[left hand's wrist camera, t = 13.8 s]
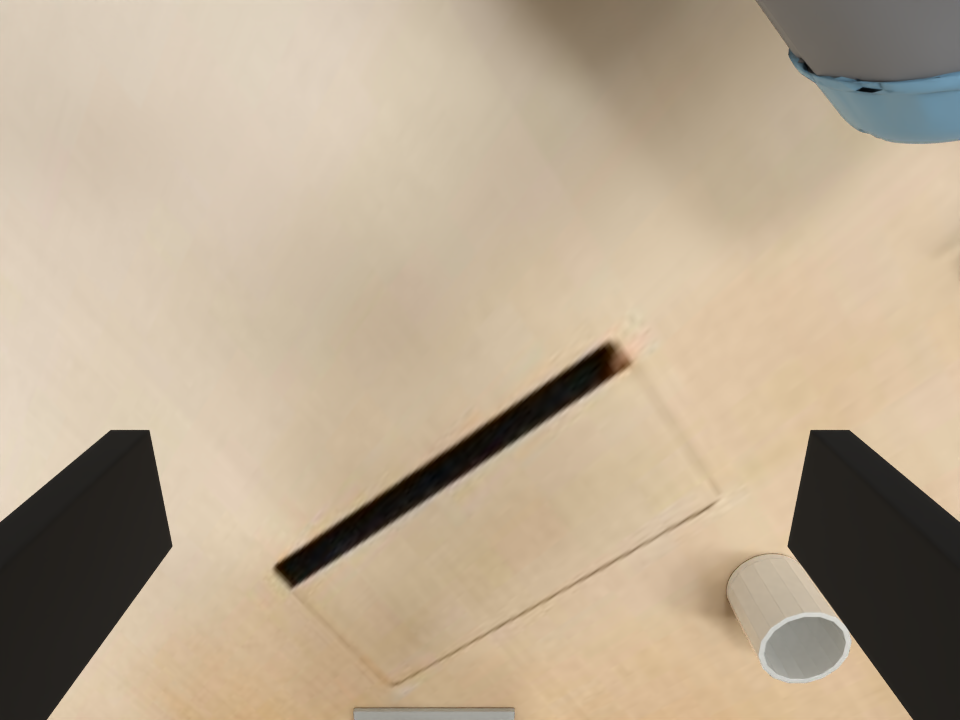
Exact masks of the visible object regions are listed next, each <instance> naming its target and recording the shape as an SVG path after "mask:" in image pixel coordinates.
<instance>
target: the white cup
mask: <svg viewBox="0 0 960 720" xmlns="http://www.w3.org/2000/svg"><path fill="white" fill-rule="evenodd" d="M727 598H728V601H729V603H730V605H731V607H732V610H733V612H734V614H735V616H736V618H737V620H738V622H739V624H740V626H741V628H742V630H743V631H744V633H745V635H746V637H747V639H748V641H749V643H750V645H751V647H752V649H753V651H754V653H755V655H756V657H757V659H758V660H759V662H760V664H761V666H762V668H763V669H764V670H765V671H766V672H767V673H768V674H769V675H771V676H772V677H773V678H775V679H778V680H781V681H784V682H787V683H808V682H811V681H814V680H818V679H821V678H824V677H825V676H827V675H828V674H830V673H832V672H833V671H835V670H836V669H838V668H839V666H840V665H841V664H842V663H843V661H844V660H845V659H846V658H847V656H848V654H849V650H850V646H851V638H850V634H849V630H848V629H847V628H846V626H845V625H844V624H843V622H842V621H841V619H840V618H839V617H838V615H837V614H836V613H835V611H834V610H833V608H832V607H831V606H830V604H829V603H828V601H827V600H826V599H825V597H824V596H823V595H822V593H821V592H820V590H819V589H818V588H817V586H816V585H815V584H814V582H813V581H812V579H811V578H810V577H809V575H808V574H807V573H806V571H805V570H804V568H803V567H802V566H801V565H800V564H799V563H798V562H797V561H796V560H794V559H793V558H790V557H788V556H785V555H780V554H765V555H760V556H757V557H754V558H751V559H749V560H747V561H746V562H744V563H743V564H741V565H740V566H739V567H738V568H737V569H736V570H735V571H734V572H733V574H732V575H731V577H730V579H729V581H728V585H727Z"/></svg>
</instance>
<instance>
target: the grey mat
mask: <svg viewBox="0 0 960 720" xmlns="http://www.w3.org/2000/svg"><path fill="white" fill-rule="evenodd" d="M353 713H354V720H514V713H515V711H514V708H354V711H353Z"/></svg>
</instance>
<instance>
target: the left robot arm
mask: <svg viewBox="0 0 960 720" xmlns="http://www.w3.org/2000/svg"><path fill="white" fill-rule="evenodd" d="M756 1H757V3H758V4H759V6H760V7H761V9H762V10H763V11H764V13H765V14H766V16H767V17H768V19H769V20H770V21H771V23H772V24H773V26H774V27H775V29H776V30H777V31H778V33H779V34H780V36H781V37H782V39H783V40H784V41H785V43H786V44H787V46H788V47H789V54H788V55H789V58H790V59H791V61H792V63H793V64H794V66H795V67H796V69H797V70H798V71H799V72H800V73H801V74H802V75H804V76H805V77H807V78H808V79H810V80H811V81H813V82H815V83H816V84H817V86H818V87H819V88H820V89H821V91H822V92H823V93H824V95H825V96H826V97H827V98H828V100H829V101H830V102H831V103H832V105H833V106H834V107H835V109H836V110H837V111H838V112H839V114H840V115H841V116H842V117H843V118H844V119H845V121H846V122H848V123H849V124H850V125H851V126H853V127H854V128H855V129H857V130H858V131H861V132H864V133H868V134H871V135H873V136H875V137H876V138H881V139H883V140H885V141H889V142H895V143H906V144H929V143H942V142H951V141H958V140H960V0H756ZM171 548H172V541H171V536H170V531H169V526H168V521H167V516H166V511H165V506H164V501H163V496H162V491H161V486H160V481H159V476H158V471H157V466H156V461H155V456H154V451H153V446H152V441H151V436H150V431H149V430H110V431H109V432H108V433H107V434H105V435H104V436H103V437H102V438H101V439H99V440H98V441H97V442H96V443H95V444H93V445H92V446H91V447H90V448H89V449H88V450H86V451H85V452H84V453H83V454H82V455H80V456H79V457H78V458H77V459H76V460H74V461H73V462H72V463H71V464H70V465H68V466H67V467H66V468H65V469H64V470H62V471H61V472H60V473H59V474H58V475H56V476H55V477H54V478H53V479H52V480H50V481H49V482H48V483H47V484H46V485H44V486H43V487H42V488H41V489H40V490H38V491H37V492H36V493H35V494H34V495H32V496H31V497H30V498H29V499H28V500H26V501H25V502H24V503H23V504H22V505H20V506H19V507H18V508H17V509H16V510H14V511H13V512H12V513H11V514H10V515H8V516H7V517H6V518H5V519H4V520H2V521H1V522H0V720H47V719H48V717H49V716H50V715H51V713H52V712H53V710H54V709H55V708H56V706H57V705H58V704H59V702H60V701H61V699H62V698H63V697H64V695H65V694H66V693H67V691H68V690H69V688H70V687H71V686H72V684H73V683H74V681H75V680H76V679H77V677H78V676H79V675H80V673H81V672H82V670H83V669H84V668H85V666H86V665H87V664H88V662H89V661H90V659H91V658H92V657H93V655H94V654H95V653H96V651H97V650H98V648H99V647H100V646H101V644H102V643H103V641H104V640H105V639H106V637H107V636H108V635H109V633H110V632H111V630H112V629H113V628H114V626H115V625H116V624H117V622H118V621H119V619H120V618H121V617H122V615H123V614H124V613H125V611H126V610H127V608H128V607H129V606H130V604H131V603H132V601H133V600H134V599H135V597H136V596H137V595H138V593H139V592H140V590H141V589H142V588H143V586H144V585H145V584H146V582H147V581H148V579H149V578H150V577H151V575H152V574H153V573H154V571H155V570H156V568H157V567H158V566H159V564H160V563H161V561H162V560H163V559H164V557H165V556H166V555H167V553H168V552H169V550H170V549H171ZM788 548H789V549H790V550H791V552H792V553H793V555H794V556H795V557H796V559H797V560H798V562H799V563H800V564H801V566H802V567H803V568H804V570H805V571H806V573H807V574H808V575H809V577H810V578H811V579H812V581H813V582H814V584H815V585H816V586H817V588H818V589H819V590H820V592H821V593H822V595H823V596H824V597H825V599H826V600H827V601H828V603H829V604H830V606H831V607H832V608H833V610H834V611H835V613H836V614H837V615H838V617H839V618H840V619H841V621H842V622H843V624H844V625H845V626H846V628H847V629H848V630H849V632H850V633H851V635H852V636H853V637H854V639H855V640H856V641H857V643H858V644H859V646H860V647H861V648H862V650H863V651H864V653H865V654H866V655H867V657H868V658H869V659H870V661H871V662H872V664H873V665H874V666H875V668H876V669H877V670H878V672H879V673H880V675H881V676H882V677H883V679H884V680H885V681H886V683H887V684H888V686H889V687H890V688H891V690H892V691H893V693H894V694H895V695H896V697H897V698H898V699H899V701H900V702H901V704H902V705H903V706H904V708H905V709H906V710H907V712H908V713H909V715H910V716H911V717H912V719H913V720H960V522H959V521H958V520H956V519H955V518H954V517H953V516H952V515H950V514H949V513H948V512H947V511H946V510H944V509H943V508H942V507H941V506H940V505H938V504H937V503H936V502H935V501H934V500H932V499H931V498H930V497H929V496H928V495H926V494H925V493H924V492H923V491H922V490H920V489H919V488H918V487H917V486H916V485H914V484H913V483H912V482H911V481H910V480H908V479H907V478H906V477H905V476H904V475H902V474H901V473H900V472H899V471H898V470H896V469H895V468H894V467H893V466H892V465H890V464H889V463H888V462H887V461H886V460H884V459H883V458H882V457H881V456H880V455H878V454H877V453H876V452H875V451H874V450H872V449H871V448H870V447H869V446H868V445H867V444H865V443H864V442H863V441H862V440H861V439H859V438H858V437H857V436H856V435H855V434H853V433H852V432H851V431H850V430H811V431H810V436H809V441H808V446H807V451H806V456H805V461H804V466H803V471H802V476H801V481H800V486H799V491H798V496H797V501H796V506H795V511H794V516H793V521H792V526H791V531H790V536H789V541H788Z"/></svg>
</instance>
